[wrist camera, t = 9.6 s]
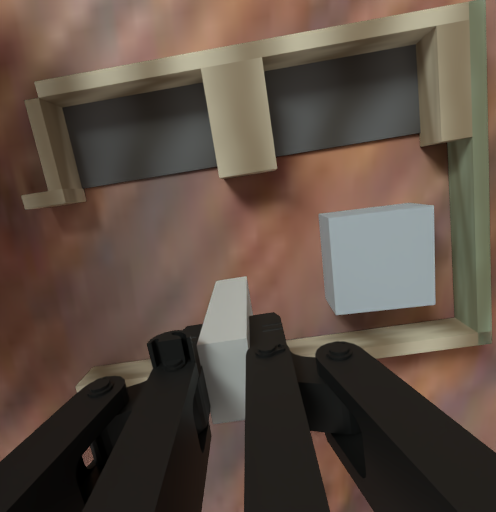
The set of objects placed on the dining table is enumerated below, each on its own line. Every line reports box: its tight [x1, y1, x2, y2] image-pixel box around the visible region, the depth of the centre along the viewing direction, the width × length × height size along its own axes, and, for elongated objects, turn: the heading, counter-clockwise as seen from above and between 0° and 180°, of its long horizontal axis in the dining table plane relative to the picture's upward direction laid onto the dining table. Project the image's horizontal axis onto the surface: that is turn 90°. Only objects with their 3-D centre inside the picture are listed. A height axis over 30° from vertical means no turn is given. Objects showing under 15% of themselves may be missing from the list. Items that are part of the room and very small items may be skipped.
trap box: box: [21, 0, 492, 393], centre depth 25 cm, size 32×23×3 cm
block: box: [319, 203, 435, 315], centre depth 25 cm, size 7×7×4 cm
